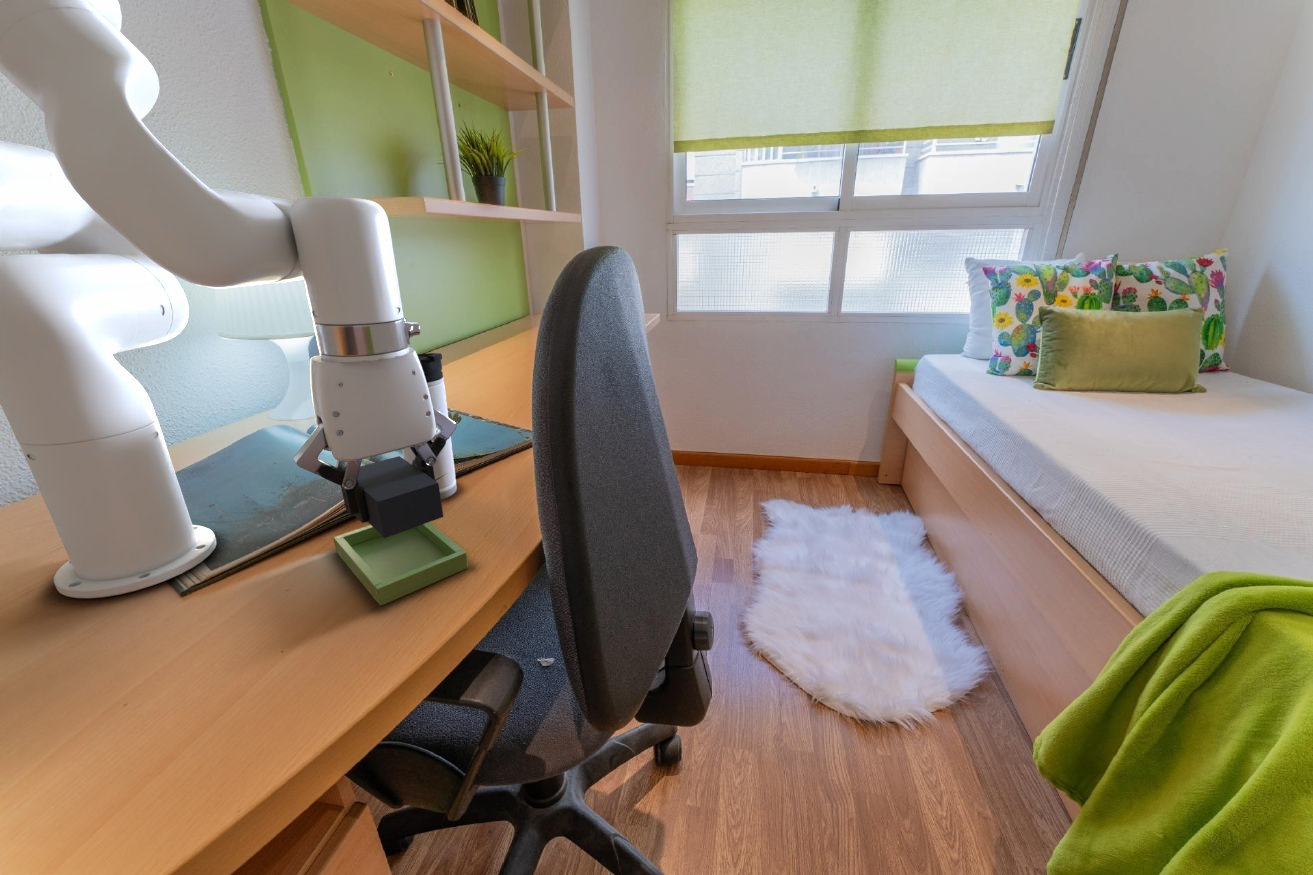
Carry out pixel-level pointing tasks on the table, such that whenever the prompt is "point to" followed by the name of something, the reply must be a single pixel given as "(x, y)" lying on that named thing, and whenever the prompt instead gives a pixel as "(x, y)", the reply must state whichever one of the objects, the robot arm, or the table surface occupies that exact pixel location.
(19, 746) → the table surface
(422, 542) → the frame
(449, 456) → the travel mug
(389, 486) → the dark gray block
